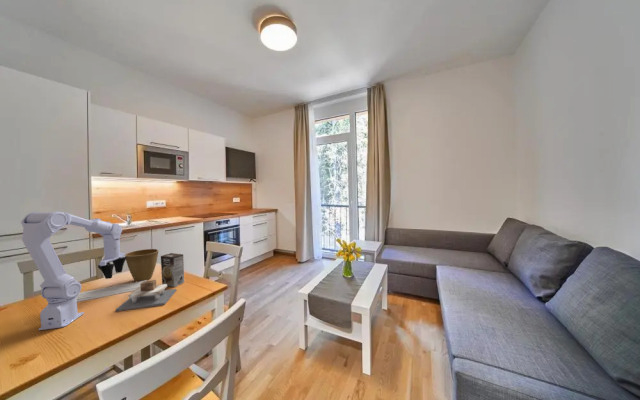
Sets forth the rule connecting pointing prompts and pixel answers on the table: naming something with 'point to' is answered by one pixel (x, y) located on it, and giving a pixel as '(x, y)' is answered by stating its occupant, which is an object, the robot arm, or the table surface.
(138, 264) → the plant pot
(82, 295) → the baseboard molding
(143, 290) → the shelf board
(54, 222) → the robot arm
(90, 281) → the table surface
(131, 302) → the peg stand
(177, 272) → the coffee box
